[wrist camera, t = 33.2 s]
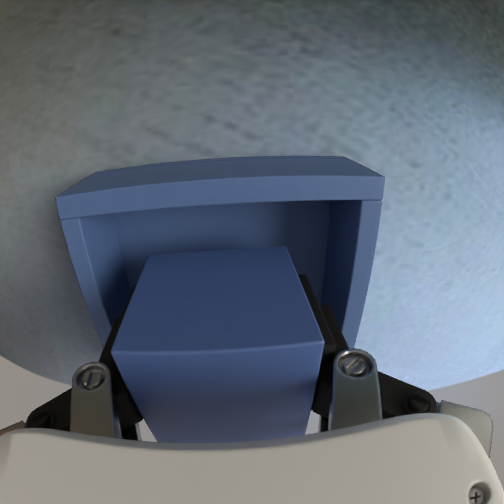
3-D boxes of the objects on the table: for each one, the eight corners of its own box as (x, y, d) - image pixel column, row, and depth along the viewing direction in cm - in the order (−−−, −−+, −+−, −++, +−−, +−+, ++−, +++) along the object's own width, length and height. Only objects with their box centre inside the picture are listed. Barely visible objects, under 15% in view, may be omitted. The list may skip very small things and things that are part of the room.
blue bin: (323, 344, 17) (341, 392, 14) (142, 355, 16) (131, 404, 13) (345, 156, 12) (385, 176, 9) (95, 172, 11) (54, 197, 8)
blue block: (282, 345, 13) (304, 440, 9) (172, 351, 13) (160, 447, 8) (286, 245, 11) (325, 341, 6) (149, 253, 11) (108, 352, 6)
